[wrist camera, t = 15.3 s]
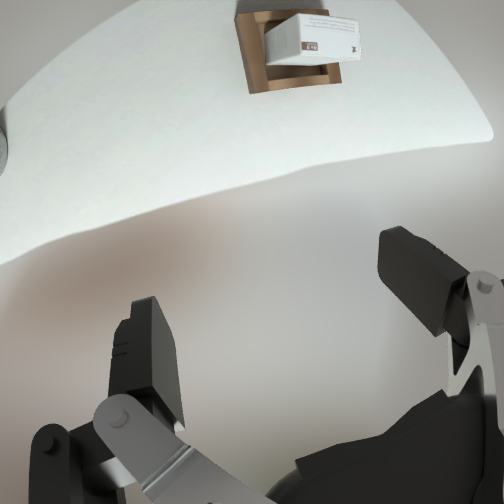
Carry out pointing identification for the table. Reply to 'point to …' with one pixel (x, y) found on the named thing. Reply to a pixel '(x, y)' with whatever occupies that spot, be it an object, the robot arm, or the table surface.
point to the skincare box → (313, 41)
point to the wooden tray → (277, 76)
